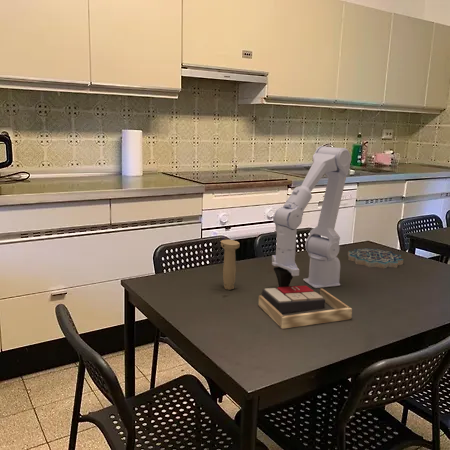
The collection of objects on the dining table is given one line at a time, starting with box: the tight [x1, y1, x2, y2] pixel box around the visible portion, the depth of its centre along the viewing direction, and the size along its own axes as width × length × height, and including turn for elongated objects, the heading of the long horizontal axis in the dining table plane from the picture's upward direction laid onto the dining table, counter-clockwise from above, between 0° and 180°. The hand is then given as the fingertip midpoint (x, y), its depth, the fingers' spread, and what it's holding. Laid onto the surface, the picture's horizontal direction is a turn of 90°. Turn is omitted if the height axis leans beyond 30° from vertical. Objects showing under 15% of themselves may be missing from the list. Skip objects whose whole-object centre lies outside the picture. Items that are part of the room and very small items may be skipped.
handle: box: [220, 239, 240, 291], centre depth 142 cm, size 5×6×15 cm
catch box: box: [258, 287, 353, 330], centre depth 127 cm, size 21×16×3 cm
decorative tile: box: [347, 247, 404, 269], centre depth 176 cm, size 20×20×2 cm
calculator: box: [261, 285, 326, 315], centre depth 132 cm, size 11×4×15 cm
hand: (283, 290), depth 139 cm, fingers closed
